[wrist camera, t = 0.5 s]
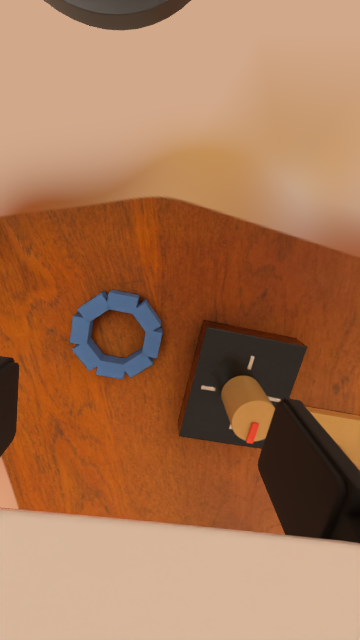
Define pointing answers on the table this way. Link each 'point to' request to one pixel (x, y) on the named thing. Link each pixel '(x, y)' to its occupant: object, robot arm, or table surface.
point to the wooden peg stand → (341, 430)
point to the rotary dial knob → (247, 408)
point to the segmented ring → (92, 353)
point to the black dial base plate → (228, 362)
